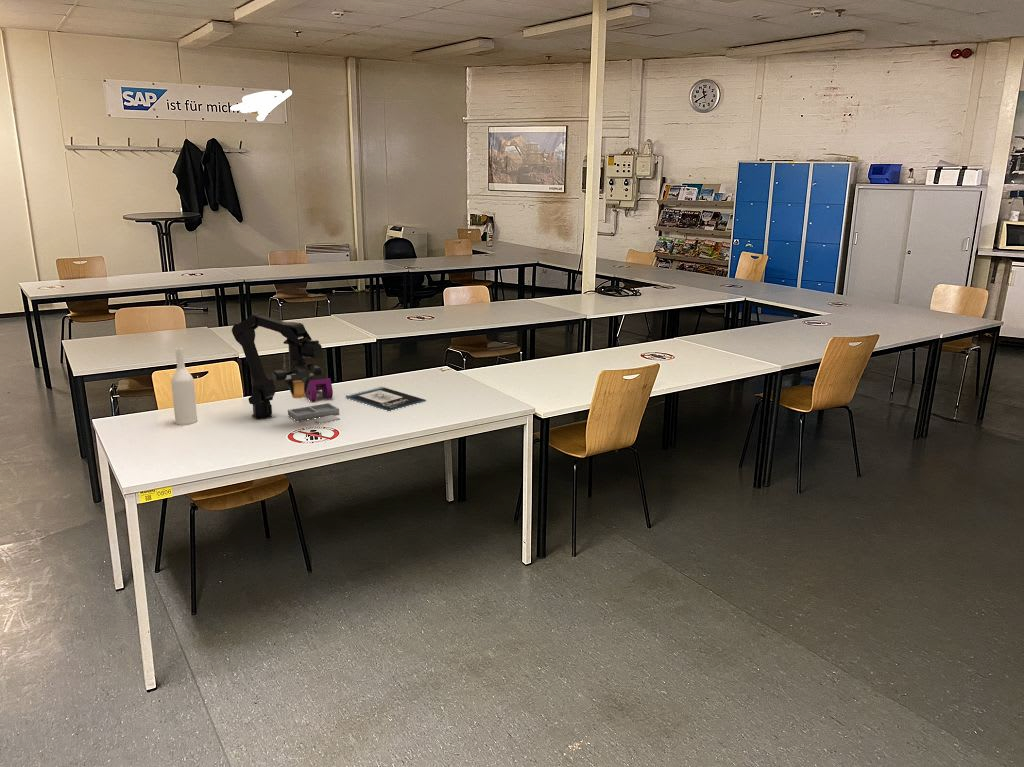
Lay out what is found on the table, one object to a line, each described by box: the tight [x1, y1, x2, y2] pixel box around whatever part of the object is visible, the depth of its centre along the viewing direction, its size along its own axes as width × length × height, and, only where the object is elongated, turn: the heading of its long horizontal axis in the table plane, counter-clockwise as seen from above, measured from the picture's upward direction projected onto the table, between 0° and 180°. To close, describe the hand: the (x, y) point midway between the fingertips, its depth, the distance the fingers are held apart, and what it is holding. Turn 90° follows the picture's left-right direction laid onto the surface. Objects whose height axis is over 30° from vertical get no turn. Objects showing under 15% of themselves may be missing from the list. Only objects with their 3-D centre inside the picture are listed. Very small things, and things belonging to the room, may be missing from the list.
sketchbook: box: [345, 386, 427, 412], centre depth 338 cm, size 22×30×2 cm
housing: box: [287, 402, 340, 422], centre depth 314 cm, size 18×10×2 cm, turn 127°
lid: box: [312, 415, 341, 425], centre depth 309 cm, size 9×6×1 cm, turn 135°
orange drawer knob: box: [291, 379, 307, 399], centre depth 302 cm, size 5×5×6 cm
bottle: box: [170, 347, 198, 426], centre depth 300 cm, size 8×8×30 cm
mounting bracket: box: [305, 377, 334, 402], centre depth 341 cm, size 9×8×18 cm
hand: (298, 393), depth 302 cm, fingers closed on orange drawer knob, 4 cm apart
